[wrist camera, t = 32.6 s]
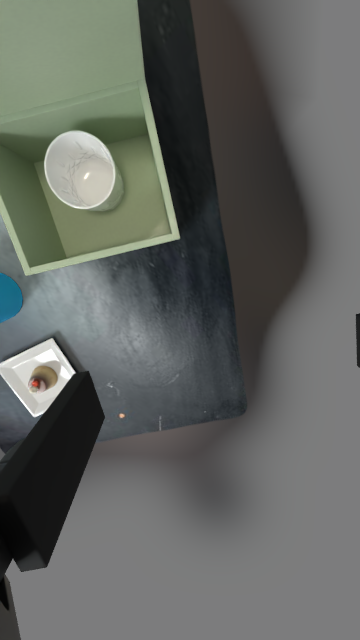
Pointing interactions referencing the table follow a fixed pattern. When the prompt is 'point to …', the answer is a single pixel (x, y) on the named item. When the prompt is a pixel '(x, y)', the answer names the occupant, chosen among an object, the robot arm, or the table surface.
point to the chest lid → (66, 49)
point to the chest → (73, 223)
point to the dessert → (37, 375)
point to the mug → (9, 298)
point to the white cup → (83, 172)
